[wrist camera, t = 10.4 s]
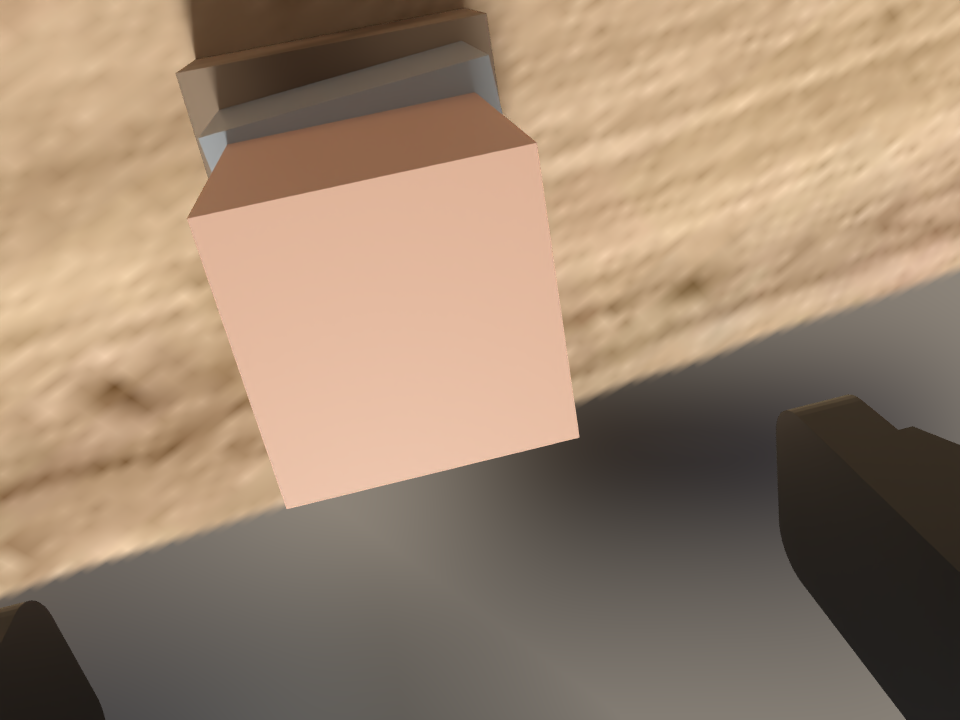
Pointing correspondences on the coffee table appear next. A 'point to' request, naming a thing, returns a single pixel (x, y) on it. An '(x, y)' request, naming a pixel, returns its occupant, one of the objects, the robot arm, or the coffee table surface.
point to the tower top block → (356, 96)
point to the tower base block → (318, 61)
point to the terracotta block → (389, 294)
